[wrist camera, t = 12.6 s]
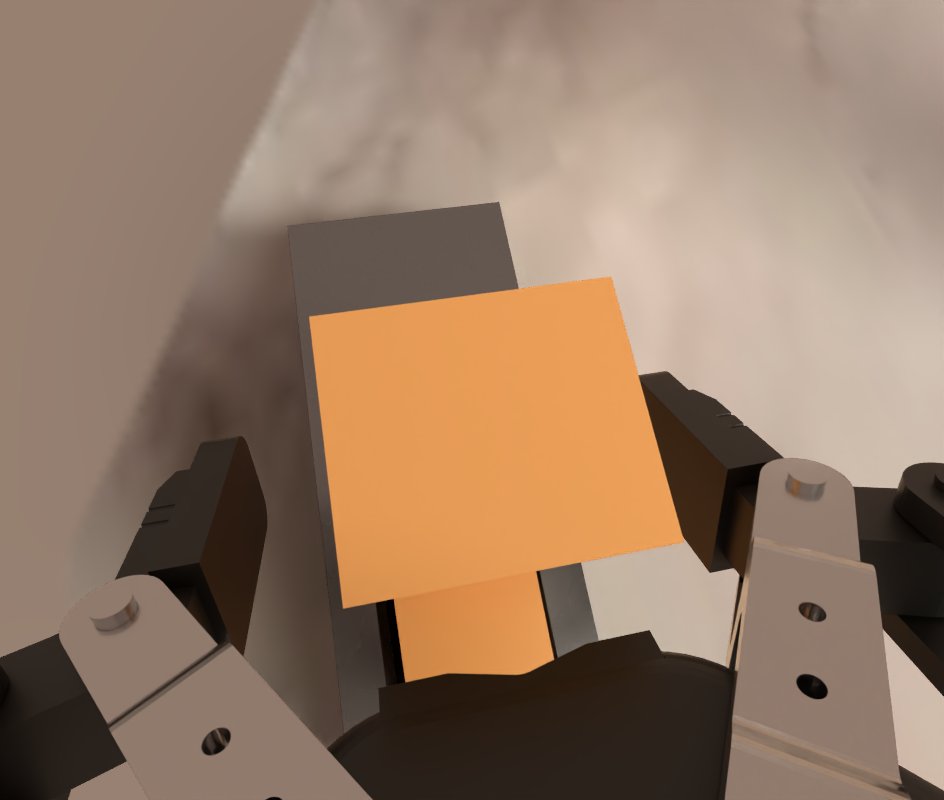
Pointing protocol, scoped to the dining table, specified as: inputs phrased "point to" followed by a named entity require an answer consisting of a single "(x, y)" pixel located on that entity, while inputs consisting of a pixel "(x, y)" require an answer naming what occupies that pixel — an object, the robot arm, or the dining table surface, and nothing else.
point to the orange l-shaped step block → (484, 463)
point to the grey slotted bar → (318, 293)
